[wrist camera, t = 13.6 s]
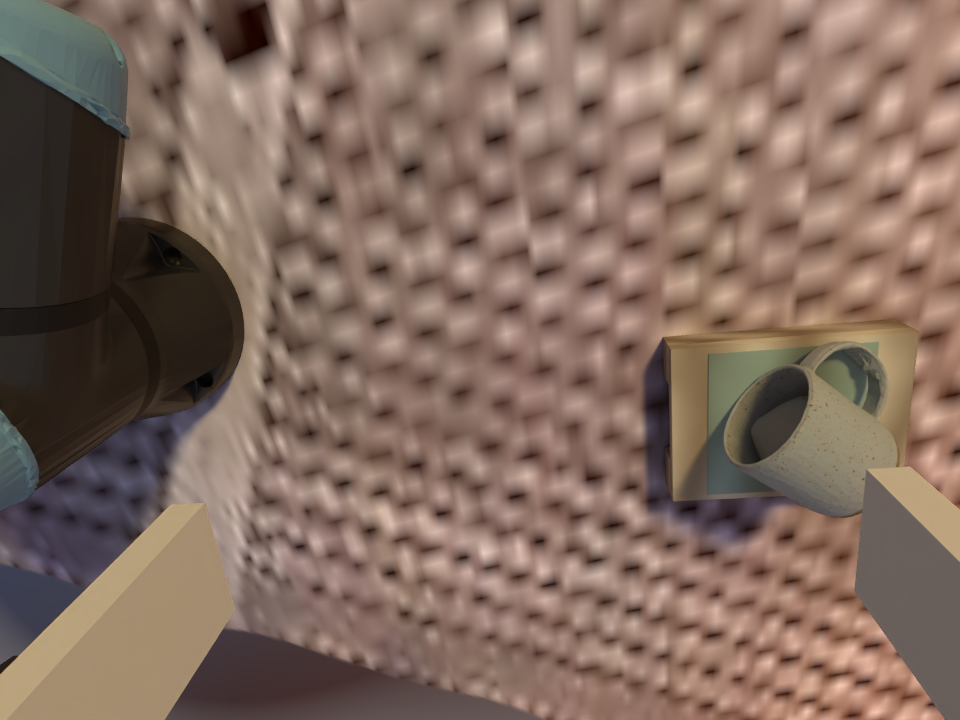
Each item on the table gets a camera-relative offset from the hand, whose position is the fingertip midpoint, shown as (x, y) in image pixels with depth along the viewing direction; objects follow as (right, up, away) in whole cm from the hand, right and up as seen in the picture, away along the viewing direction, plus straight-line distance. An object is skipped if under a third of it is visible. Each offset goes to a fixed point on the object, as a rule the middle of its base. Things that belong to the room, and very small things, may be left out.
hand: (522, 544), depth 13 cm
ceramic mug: (+21, +1, +31) cm, 38 cm away
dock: (+21, 0, +35) cm, 41 cm away
